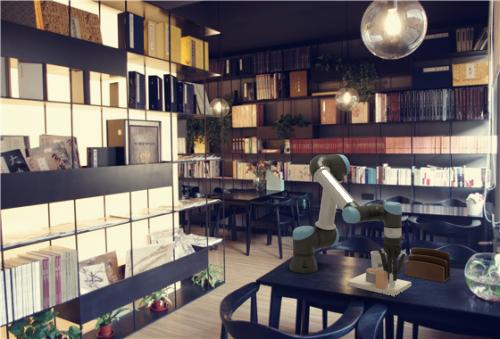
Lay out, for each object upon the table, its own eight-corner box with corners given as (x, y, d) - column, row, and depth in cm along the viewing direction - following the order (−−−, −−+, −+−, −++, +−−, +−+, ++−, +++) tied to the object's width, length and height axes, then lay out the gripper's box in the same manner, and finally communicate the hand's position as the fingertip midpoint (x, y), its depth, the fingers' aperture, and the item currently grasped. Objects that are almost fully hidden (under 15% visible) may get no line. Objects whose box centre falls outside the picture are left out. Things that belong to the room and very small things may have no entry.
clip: (365, 285, 204) (365, 269, 203) (369, 283, 207) (370, 267, 206) (383, 289, 198) (383, 273, 197) (387, 287, 201) (387, 271, 200)
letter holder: (411, 271, 233) (411, 245, 232) (450, 278, 220) (450, 251, 219) (404, 275, 226) (404, 249, 225) (444, 283, 213) (444, 255, 212)
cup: (387, 277, 222) (387, 254, 221) (371, 277, 223) (371, 254, 223) (385, 273, 229) (385, 251, 229) (370, 272, 231) (370, 250, 230)
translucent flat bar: (368, 273, 205) (368, 270, 205) (383, 267, 216) (383, 265, 216) (375, 274, 202) (375, 272, 202) (390, 268, 214) (390, 266, 214)
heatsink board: (347, 285, 211) (347, 267, 210) (365, 276, 225) (366, 259, 224) (394, 296, 194) (394, 276, 194) (411, 286, 208) (411, 267, 208)
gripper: (375, 235, 197) (375, 286, 199) (403, 239, 189) (402, 292, 190) (382, 233, 203) (382, 282, 204) (410, 237, 194) (409, 288, 195)
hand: (392, 287), depth 197 cm, fingers closed
